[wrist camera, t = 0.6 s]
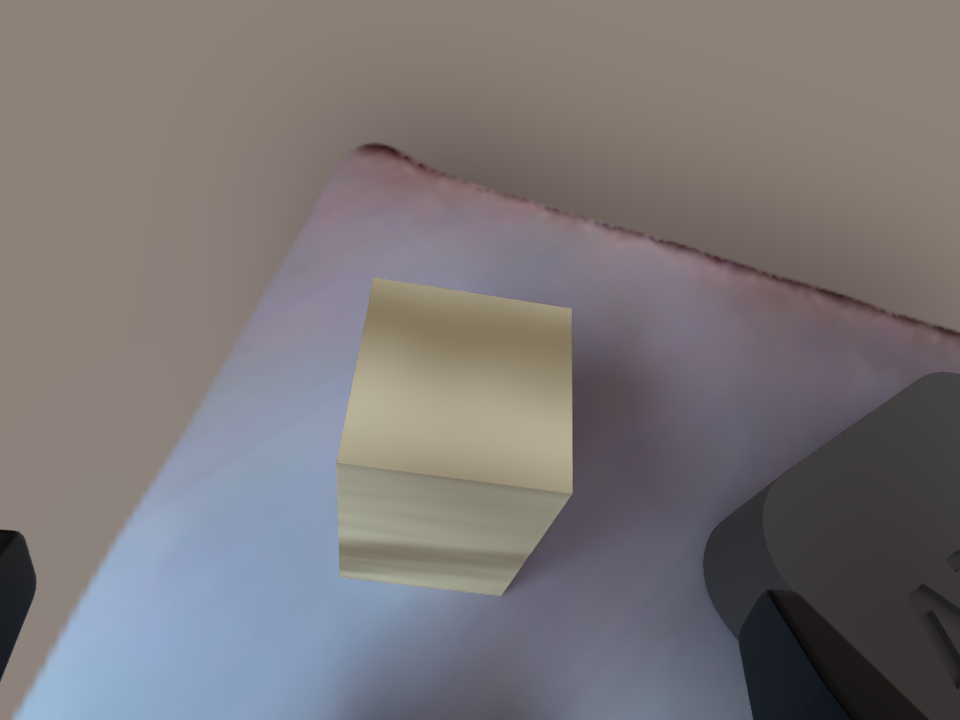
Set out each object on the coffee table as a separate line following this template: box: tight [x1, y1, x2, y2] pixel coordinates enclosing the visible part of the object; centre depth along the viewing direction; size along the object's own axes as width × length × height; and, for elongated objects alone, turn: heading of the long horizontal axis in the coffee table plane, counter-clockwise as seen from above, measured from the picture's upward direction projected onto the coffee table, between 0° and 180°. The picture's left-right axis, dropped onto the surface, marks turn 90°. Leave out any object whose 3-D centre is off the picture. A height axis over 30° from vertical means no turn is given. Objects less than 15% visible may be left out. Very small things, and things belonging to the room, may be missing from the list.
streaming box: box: [704, 372, 960, 720], centre depth 26 cm, size 14×14×5 cm
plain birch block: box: [337, 278, 573, 596], centre depth 23 cm, size 6×6×10 cm
